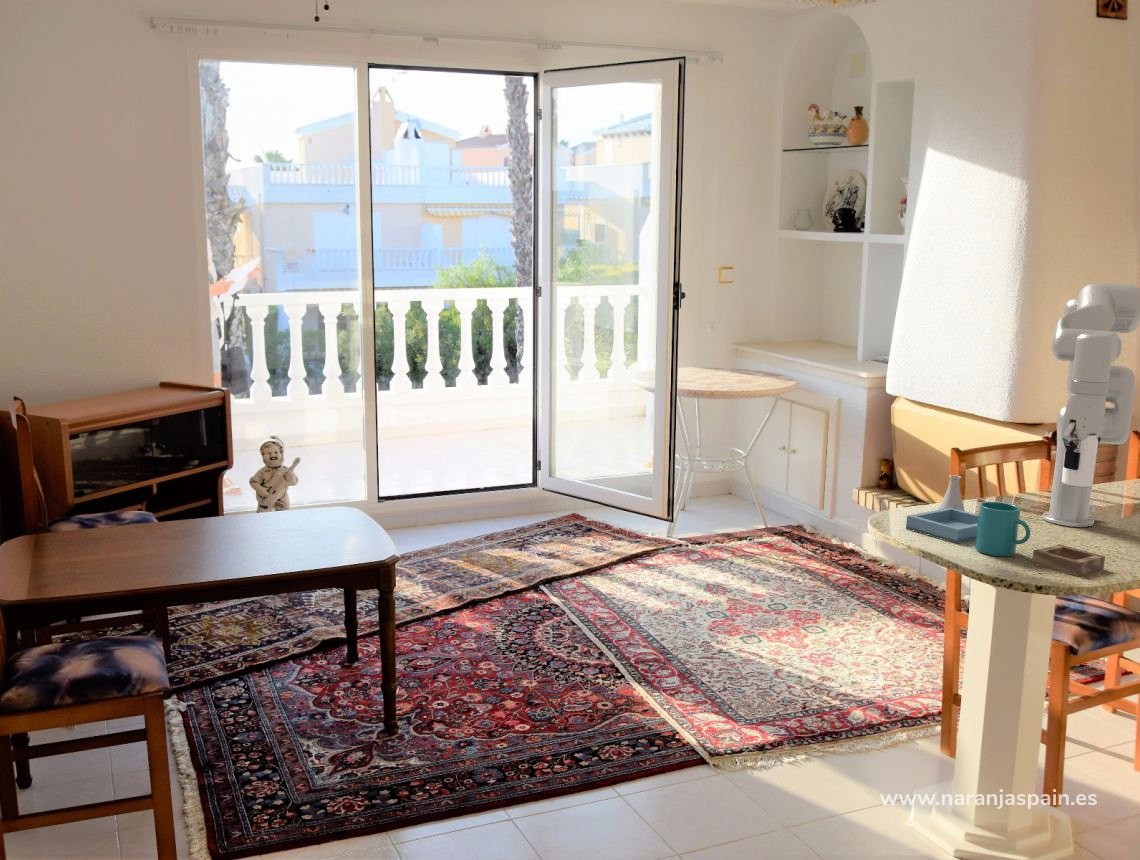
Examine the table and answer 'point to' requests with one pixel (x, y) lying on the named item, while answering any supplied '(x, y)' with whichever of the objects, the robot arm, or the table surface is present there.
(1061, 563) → the holder
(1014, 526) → the cup
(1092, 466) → the can
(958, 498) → the flask
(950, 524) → the tray
